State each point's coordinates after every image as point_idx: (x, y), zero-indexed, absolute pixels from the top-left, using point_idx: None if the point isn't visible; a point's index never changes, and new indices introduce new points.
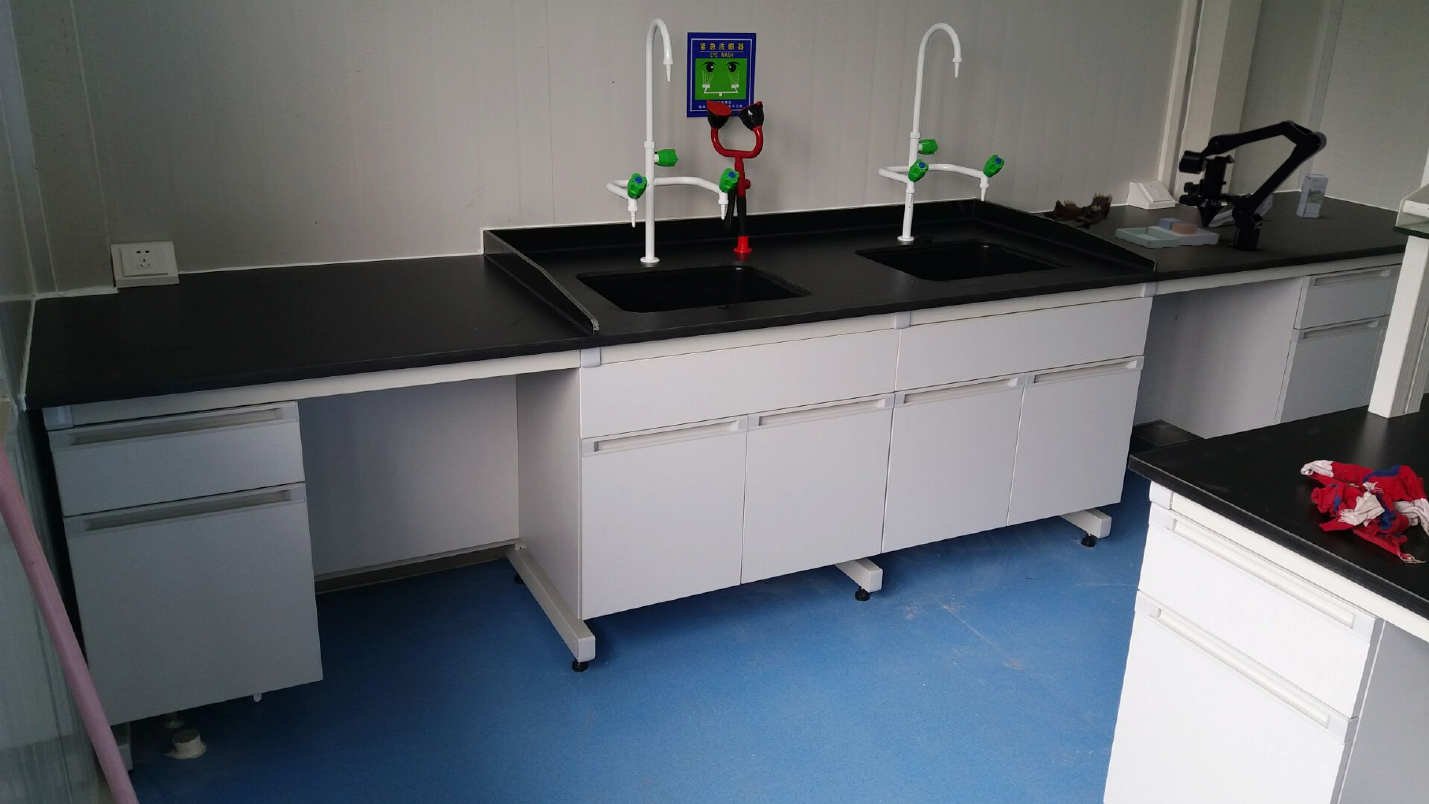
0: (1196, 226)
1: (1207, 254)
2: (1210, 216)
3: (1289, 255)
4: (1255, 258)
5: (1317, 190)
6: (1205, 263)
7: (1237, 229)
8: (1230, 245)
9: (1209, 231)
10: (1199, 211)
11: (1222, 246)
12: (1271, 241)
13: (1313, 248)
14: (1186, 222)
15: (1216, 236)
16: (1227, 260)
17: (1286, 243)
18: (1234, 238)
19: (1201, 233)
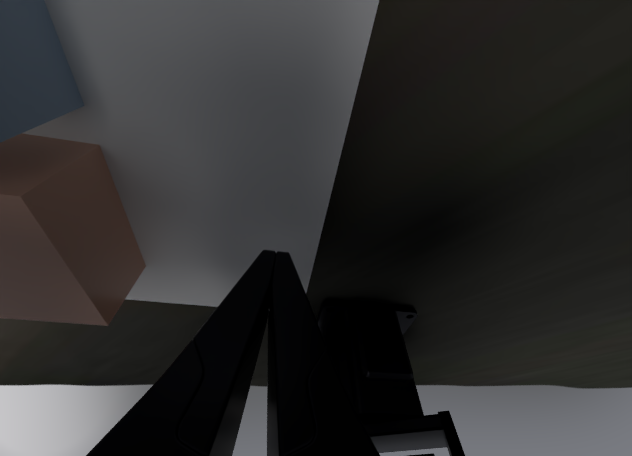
0: (104, 315)
1: (123, 338)
2: (268, 404)
3: None
4: (261, 379)
5: None
6: (58, 377)
7: (353, 390)
8: (321, 308)
9: (315, 254)
10: (109, 434)
11: None
12: (599, 299)
13: (556, 367)
14: (15, 215)
15: None
16: (154, 375)
17: (592, 327)
18: (356, 329)
19: (196, 274)
